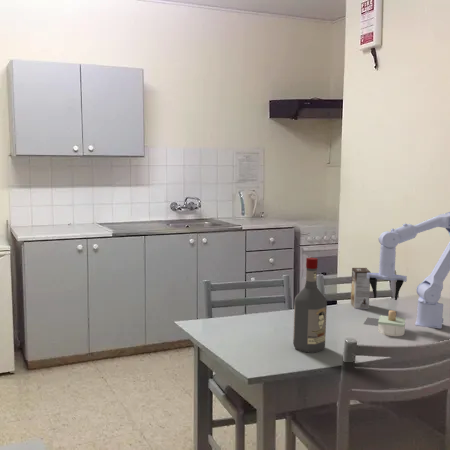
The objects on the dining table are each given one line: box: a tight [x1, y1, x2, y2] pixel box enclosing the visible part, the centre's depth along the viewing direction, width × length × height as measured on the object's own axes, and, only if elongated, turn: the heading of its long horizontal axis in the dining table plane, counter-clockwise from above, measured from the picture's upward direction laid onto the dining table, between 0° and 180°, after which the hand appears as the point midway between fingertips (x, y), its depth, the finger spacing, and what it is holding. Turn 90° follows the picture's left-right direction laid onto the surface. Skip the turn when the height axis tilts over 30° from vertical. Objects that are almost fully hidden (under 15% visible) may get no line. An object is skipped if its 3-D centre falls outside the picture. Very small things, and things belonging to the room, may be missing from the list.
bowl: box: [377, 324, 406, 337], centre depth 206 cm, size 9×9×4 cm
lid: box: [378, 310, 406, 327], centre depth 206 cm, size 9×9×4 cm
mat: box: [363, 317, 379, 327], centre depth 219 cm, size 10×10×1 cm
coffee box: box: [350, 267, 372, 310], centre depth 242 cm, size 9×6×16 cm
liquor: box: [292, 257, 328, 353], centre depth 187 cm, size 9×9×30 cm
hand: (385, 298), depth 217 cm, fingers open, 7 cm apart
